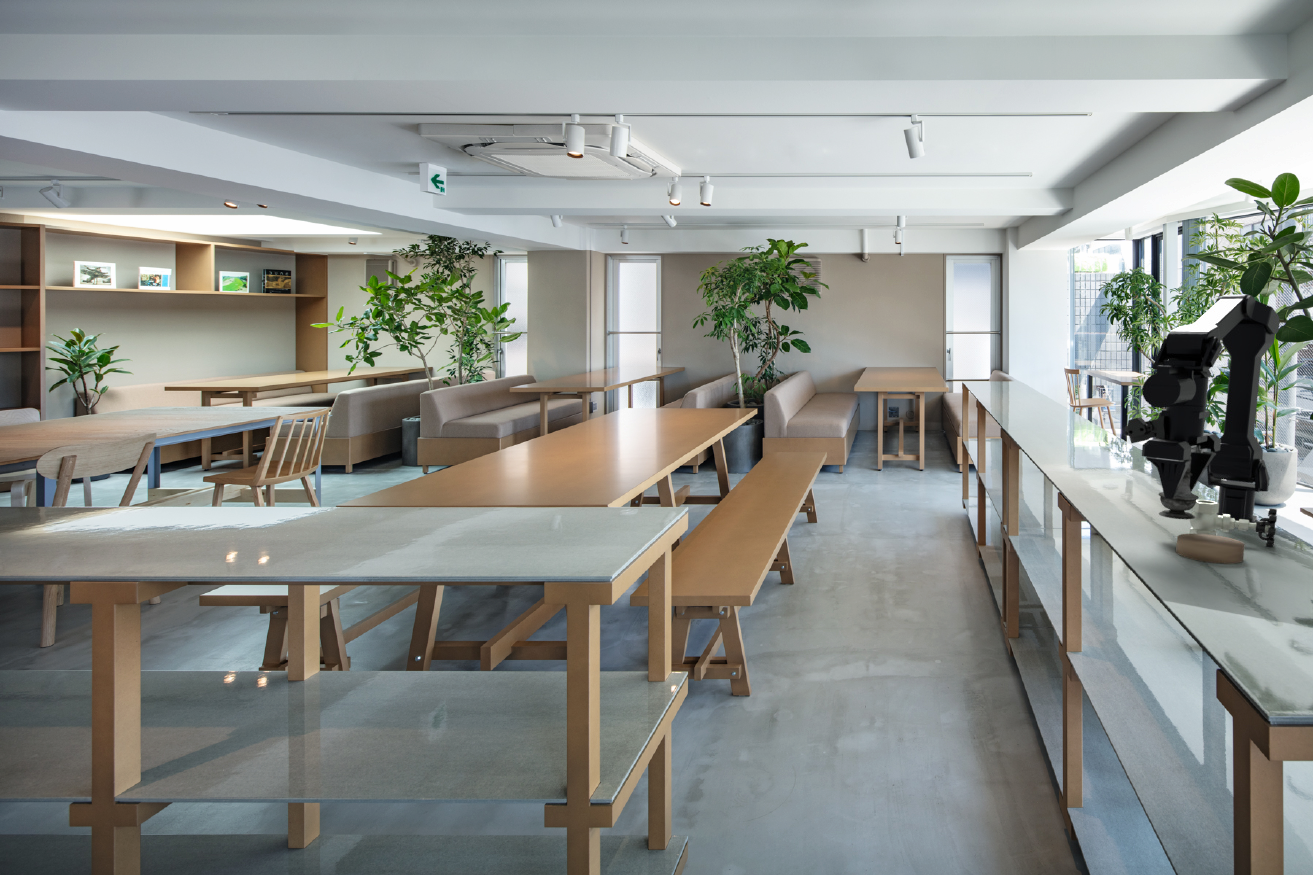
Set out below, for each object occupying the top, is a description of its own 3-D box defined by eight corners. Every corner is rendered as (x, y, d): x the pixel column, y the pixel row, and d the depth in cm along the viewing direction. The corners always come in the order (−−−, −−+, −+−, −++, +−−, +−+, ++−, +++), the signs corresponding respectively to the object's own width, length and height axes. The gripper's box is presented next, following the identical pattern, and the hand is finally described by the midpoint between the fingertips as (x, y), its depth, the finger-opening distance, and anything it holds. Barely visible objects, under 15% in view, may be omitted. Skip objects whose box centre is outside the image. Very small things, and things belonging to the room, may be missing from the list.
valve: (1187, 541, 144) (1273, 551, 137) (1190, 503, 143) (1277, 512, 137) (1189, 533, 150) (1272, 543, 143) (1192, 497, 149) (1276, 505, 142)
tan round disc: (1181, 545, 141) (1182, 530, 140) (1246, 554, 135) (1247, 539, 135) (1171, 556, 134) (1172, 541, 134) (1239, 566, 128) (1241, 551, 128)
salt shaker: (1162, 518, 142) (1167, 448, 140) (1152, 510, 147) (1158, 443, 146) (1202, 520, 140) (1208, 449, 139) (1190, 513, 146) (1196, 444, 144)
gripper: (1155, 398, 153) (1148, 482, 155) (1112, 404, 141) (1105, 495, 144) (1225, 402, 145) (1217, 491, 147) (1186, 409, 133) (1178, 505, 135)
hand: (1178, 495), depth 143 cm, fingers closed on salt shaker, 8 cm apart
